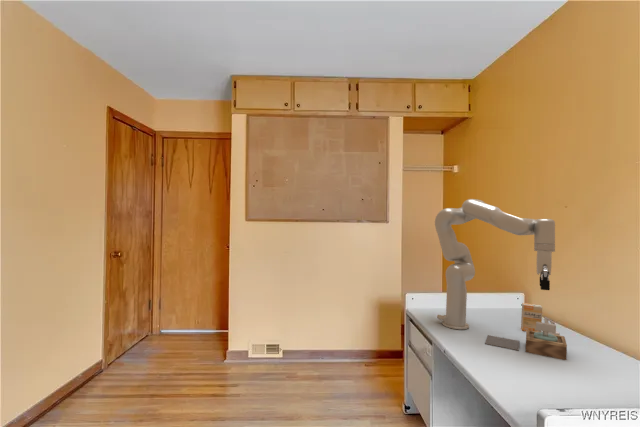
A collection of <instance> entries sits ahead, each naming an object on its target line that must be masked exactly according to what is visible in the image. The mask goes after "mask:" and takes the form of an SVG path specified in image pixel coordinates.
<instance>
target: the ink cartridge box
mask: <svg viewBox="0 0 640 427" xmlns="http://www.w3.org/2000/svg"><path fill="white" fill-rule="evenodd" d="M543 323H548V324H554V325H556V324H555V323H556V322H554V321H553V320H551V319H550V318H548V317H546V316H545V315H544V316H543ZM548 334H553V335H559V336H561V334H560V332H558V331H557V330H556V333H552V332H548Z"/></svg>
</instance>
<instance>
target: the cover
mask: <svg viewBox="0 0 640 427" xmlns="http://www.w3.org/2000/svg"><path fill="white" fill-rule="evenodd" d="M548 323H549V322H548ZM548 323H545V322H543V321H542V322H536V330H540V331H541V332H535V333H534V338H536V339H542V340H547V341H553V342H557V337H556V336H555V335H552V334H548V332H552V333H556V331H557V324H555V325H554V324H551V323H550V324H548Z"/></svg>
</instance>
